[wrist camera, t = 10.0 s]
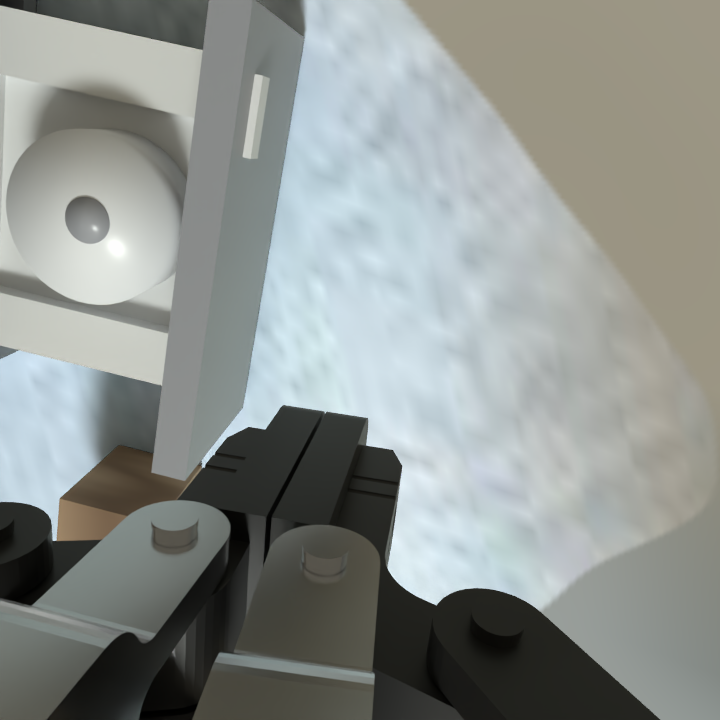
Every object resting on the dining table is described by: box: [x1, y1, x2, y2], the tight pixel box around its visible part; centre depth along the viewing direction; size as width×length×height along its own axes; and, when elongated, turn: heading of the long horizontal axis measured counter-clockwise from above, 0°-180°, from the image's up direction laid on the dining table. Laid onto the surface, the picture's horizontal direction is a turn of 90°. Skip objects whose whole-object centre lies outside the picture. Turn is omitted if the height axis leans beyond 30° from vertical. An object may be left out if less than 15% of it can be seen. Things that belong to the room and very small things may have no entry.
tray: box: [0, 0, 304, 481], centre depth 24 cm, size 17×15×7 cm
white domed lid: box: [6, 129, 187, 305], centre depth 24 cm, size 6×6×2 cm
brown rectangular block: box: [57, 445, 202, 541], centre depth 29 cm, size 4×4×5 cm
